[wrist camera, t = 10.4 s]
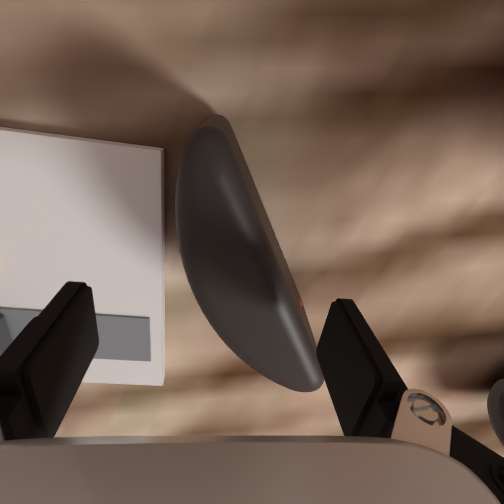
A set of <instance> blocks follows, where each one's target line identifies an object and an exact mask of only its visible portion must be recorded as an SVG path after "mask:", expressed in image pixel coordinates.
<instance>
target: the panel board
mask: <svg viewBox="0 0 504 504" xmlns="http://www.w3.org/2000/svg"><path fill="white" fill-rule="evenodd" d="M68 281H74V282H85V283H86V284H87V286H90V287H91V288H92V292H93V300H94V307H95V314H96V321H97V328H98V335H99V346H98V349H97V352H96V354H95V356H94V358H93V360H92V362H91V364H90V366H89V368H88V370H87V372H86V374H85V376H84V378H83V380H82V382H89V383H112V384H134V385H157V386H163V382H164V378H165V256H164V148H158V147H150V146H143V145H135V144H128V143H120V142H112V141H105V140H97V139H90V138H82V137H75V136H67V135H59V134H52V133H44V132H37V131H29V130H22V129H14V128H6V127H0V316H4V317H5V320H6V323H7V326H8V329H9V332H10V335H11V338H12V341H13V340H14V339H15V338H16V337H17V336H18V335H19V333H20V332H21V331H22V330H23V329H24V328H25V326H26V325H27V324H28V323H29V322H30V321H31V320H32V319H33V318H34V317H36V316H38V315H39V314H40V313H41V312H42V310H43V309H44V308H45V307H46V306H47V304H48V303H49V302H50V301H51V300H52V299H53V297H54V296H55V295H56V294H57V293H58V291H59V290H60V289H61V288H62V287H63V285H64V284H65V283H66V282H68Z"/></svg>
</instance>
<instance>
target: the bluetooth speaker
mask: <svg viewBox="0 0 504 504" xmlns="http://www.w3.org/2000/svg"><path fill="white" fill-rule="evenodd" d="M487 408H488V414H489V418H490V421H491V424H492V426H493V428H494V431H495V433H496V435H497V437H498V438H499V440H500V442H501V443H502V445H503V446H504V379H500V380H498V381H497V382H496V383H495V384H494V385H493V387H492V389H491V390H490V393H489V396H488V399H487Z"/></svg>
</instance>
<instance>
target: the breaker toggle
mask: <svg viewBox="0 0 504 504" xmlns="http://www.w3.org/2000/svg"><path fill="white" fill-rule="evenodd" d="M12 342H13V341H12V338H11V335H10V332H9V329H8V326H7V323H6V320H5V317H4V316H0V356H1V355H2V353H3V352H4V351H5V350H6V349H7V347H8V346H9V345H10V344H11V343H12Z"/></svg>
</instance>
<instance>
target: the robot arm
mask: <svg viewBox="0 0 504 504" xmlns="http://www.w3.org/2000/svg"><path fill="white" fill-rule="evenodd" d="M98 346H99V335H98V328H97V321H96V314H95V307H94V300H93V292H92V288H91V287H90V286H87V284H86V283H85V282H74V281H68V282H66V283H65V284H64V285H63V287H62V288H61V289H60V290H59V291H58V293H57V294H56V295H55V296H54V297H53V299H52V300H51V301H50V302H49V303H48V304H47V306H46V307H45V308H44V309H43V310H42V312H41V313H40V314H39V315H38V316H36V317H34V318H33V319H32V320H31V321H30V322H29V323H28V324H27V325H26V326H25V328H24V329H23V330H22V331H21V332H20V333H19V335H18V336H17V337H16V338H15V339H14V340H13V342H12V343H11V344H10V345H9V346H8V347H7V349H6V350H5V351H4V352H3V353H2V355H1V356H0V504H504V458H503V457H502V456H500V455H498V454H497V453H495V452H494V451H492V450H490V449H489V448H487V447H486V446H484V445H483V444H481V443H479V442H478V441H476V440H475V439H473V438H471V437H470V436H468V435H467V434H465V433H464V432H462V431H460V430H459V429H457V428H456V427H454V426H452V421H451V416H450V414H449V412H448V410H447V409H446V407H445V406H444V405H443V404H442V403H441V402H440V401H439V400H438V399H437V398H435V397H434V396H432V395H431V394H429V393H427V392H425V391H423V390H419V389H408V388H407V387H406V385H405V383H404V382H403V380H402V379H401V377H400V375H399V374H398V372H397V370H396V369H395V367H394V366H393V364H392V362H391V361H390V359H389V358H388V356H387V354H386V353H385V351H384V350H383V348H382V346H381V345H380V343H379V341H378V340H377V338H376V337H375V335H374V333H373V332H372V330H371V329H370V327H369V325H368V324H367V322H366V320H365V319H364V317H363V316H362V314H361V312H360V311H359V309H358V308H357V306H356V304H355V303H354V301H353V300H352V299H340V298H338V299H337V300H336V301H335V302H332V304H331V306H330V310H329V313H328V316H327V319H326V322H325V325H324V328H323V331H322V334H321V337H320V340H319V343H318V346H317V350H316V355H317V359H318V362H319V365H320V368H321V371H322V373H323V376H324V379H325V382H326V385H327V388H328V391H329V393H330V396H331V399H332V402H333V405H334V408H335V411H336V413H337V416H338V419H339V422H340V425H341V428H342V431H343V433H344V436H99V437H57V438H53V437H54V436H55V434H56V432H57V430H58V428H59V426H60V424H61V422H62V420H63V418H64V416H65V414H66V412H67V410H68V408H69V406H70V404H71V402H72V400H73V398H74V396H75V394H76V392H77V390H78V388H79V386H80V384H81V382H82V380H83V378H84V376H85V374H86V372H87V370H88V368H89V366H90V364H91V362H92V360H93V358H94V356H95V354H96V352H97V349H98Z"/></svg>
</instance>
